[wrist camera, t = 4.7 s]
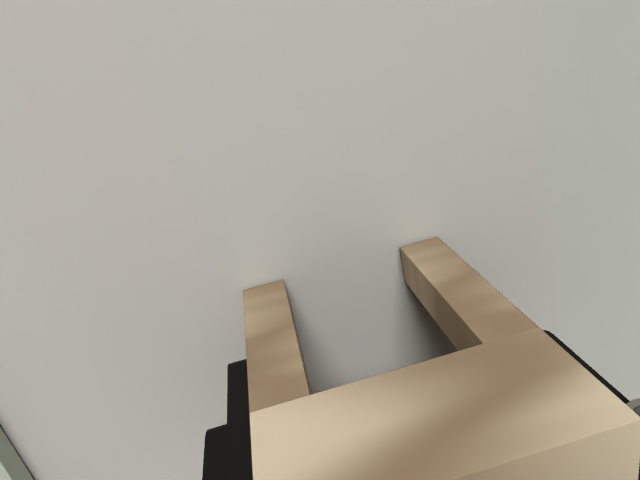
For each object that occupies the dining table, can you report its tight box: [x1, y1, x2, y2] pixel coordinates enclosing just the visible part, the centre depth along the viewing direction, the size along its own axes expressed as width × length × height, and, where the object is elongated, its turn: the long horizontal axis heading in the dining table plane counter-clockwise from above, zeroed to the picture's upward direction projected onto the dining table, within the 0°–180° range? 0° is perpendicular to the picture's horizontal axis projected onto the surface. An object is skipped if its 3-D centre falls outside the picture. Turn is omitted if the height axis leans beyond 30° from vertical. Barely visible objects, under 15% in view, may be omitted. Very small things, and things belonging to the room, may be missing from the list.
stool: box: [243, 237, 640, 480], centre depth 10 cm, size 5×5×6 cm
